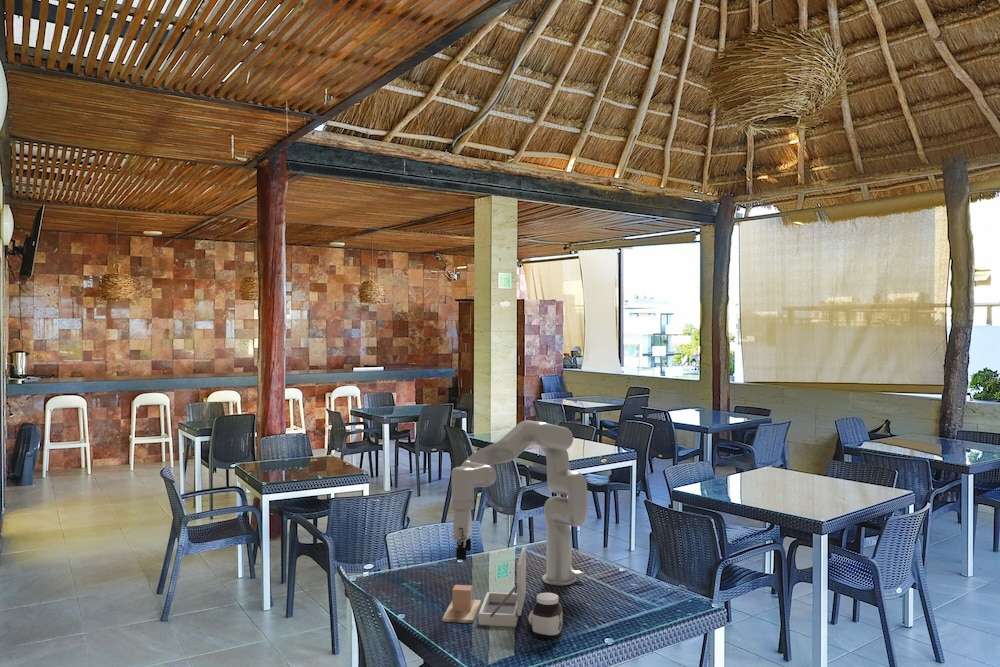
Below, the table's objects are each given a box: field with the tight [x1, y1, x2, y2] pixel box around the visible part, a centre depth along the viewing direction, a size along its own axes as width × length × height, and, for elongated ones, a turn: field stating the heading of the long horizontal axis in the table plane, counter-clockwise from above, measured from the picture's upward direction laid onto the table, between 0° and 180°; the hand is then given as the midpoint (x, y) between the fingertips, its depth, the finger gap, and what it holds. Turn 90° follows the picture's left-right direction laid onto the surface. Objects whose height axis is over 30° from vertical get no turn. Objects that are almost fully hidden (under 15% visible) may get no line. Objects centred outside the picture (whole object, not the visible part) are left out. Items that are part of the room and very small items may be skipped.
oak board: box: [441, 599, 482, 624], centre depth 236 cm, size 10×18×1 cm, turn 173°
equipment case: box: [478, 546, 527, 627], centre depth 234 cm, size 14×21×20 cm, turn 173°
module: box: [451, 584, 474, 612], centre depth 237 cm, size 6×5×7 cm
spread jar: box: [528, 592, 563, 640], centre depth 220 cm, size 12×11×12 cm
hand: (463, 554), depth 237 cm, fingers open, 9 cm apart
